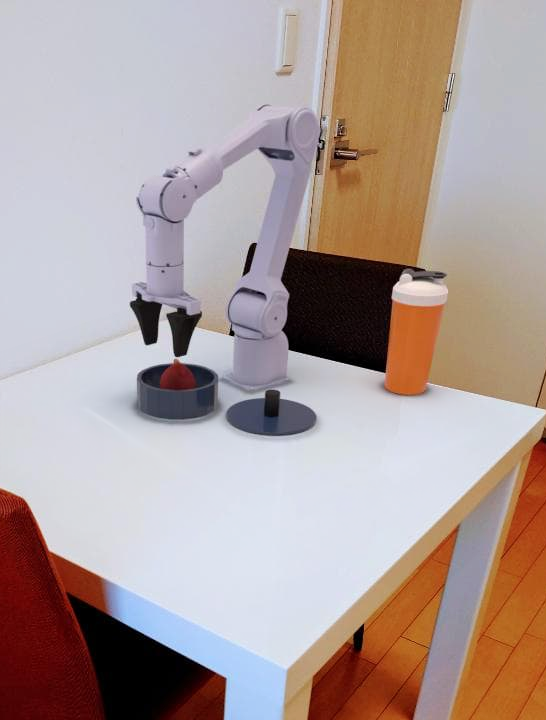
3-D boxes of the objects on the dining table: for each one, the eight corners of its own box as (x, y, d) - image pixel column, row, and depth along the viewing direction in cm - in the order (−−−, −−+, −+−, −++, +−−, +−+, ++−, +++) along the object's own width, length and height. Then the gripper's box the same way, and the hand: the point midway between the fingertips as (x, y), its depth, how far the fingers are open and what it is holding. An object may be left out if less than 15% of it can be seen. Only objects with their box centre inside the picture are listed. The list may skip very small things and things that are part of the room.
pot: (186, 386, 144) (186, 358, 141) (233, 410, 134) (234, 380, 132) (122, 403, 137) (121, 373, 135) (167, 429, 128) (167, 397, 125)
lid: (275, 397, 139) (277, 370, 137) (334, 425, 129) (337, 396, 126) (208, 416, 132) (209, 388, 130) (265, 447, 122) (267, 416, 120)
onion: (195, 399, 138) (196, 353, 134) (193, 412, 133) (194, 365, 129) (162, 398, 138) (161, 352, 134) (158, 411, 133) (158, 364, 129)
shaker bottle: (432, 399, 138) (454, 279, 128) (379, 395, 140) (396, 277, 129) (429, 380, 146) (448, 267, 135) (378, 377, 147) (394, 264, 137)
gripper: (115, 258, 125) (118, 343, 132) (175, 275, 116) (175, 366, 123) (151, 251, 129) (152, 335, 136) (211, 268, 119) (209, 356, 127)
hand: (165, 349), depth 130 cm, fingers open, 7 cm apart
